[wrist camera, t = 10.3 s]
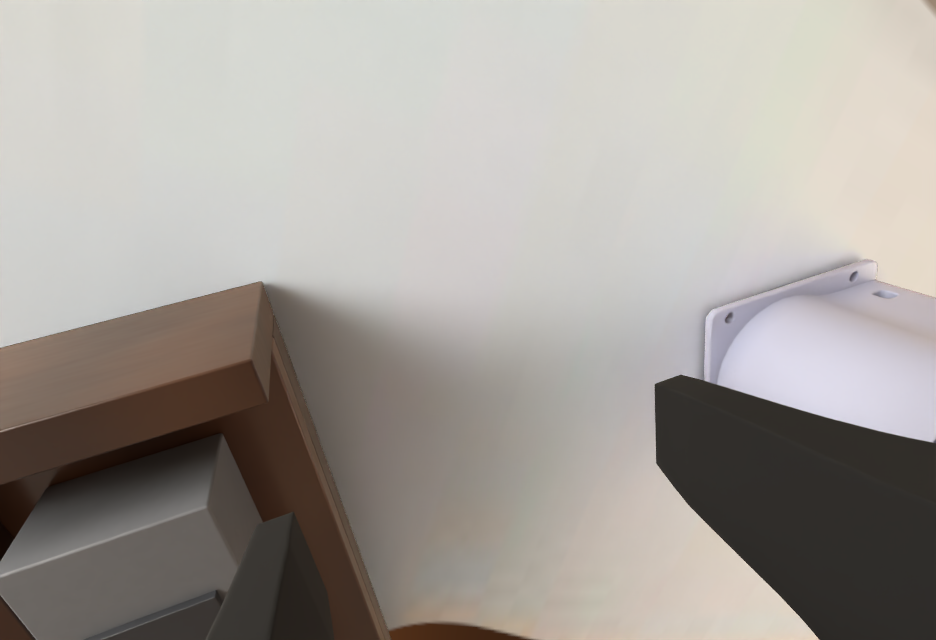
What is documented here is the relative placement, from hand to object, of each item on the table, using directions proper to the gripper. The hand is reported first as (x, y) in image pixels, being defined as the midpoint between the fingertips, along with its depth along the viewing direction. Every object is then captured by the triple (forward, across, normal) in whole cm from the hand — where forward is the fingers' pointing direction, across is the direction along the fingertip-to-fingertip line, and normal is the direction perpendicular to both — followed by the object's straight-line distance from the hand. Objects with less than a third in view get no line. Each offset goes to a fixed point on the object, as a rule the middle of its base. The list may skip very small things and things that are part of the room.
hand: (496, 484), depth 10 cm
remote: (+7, +8, +9) cm, 14 cm away
